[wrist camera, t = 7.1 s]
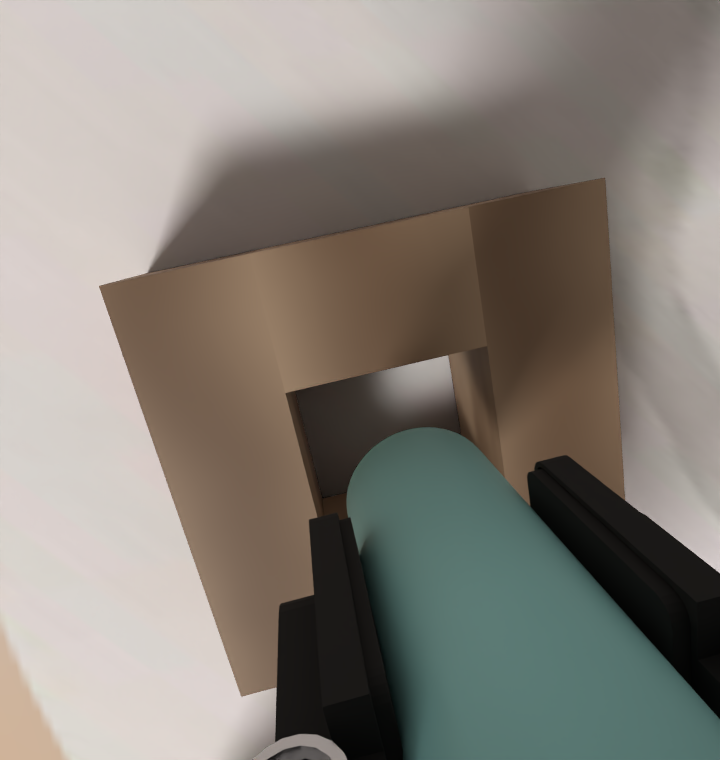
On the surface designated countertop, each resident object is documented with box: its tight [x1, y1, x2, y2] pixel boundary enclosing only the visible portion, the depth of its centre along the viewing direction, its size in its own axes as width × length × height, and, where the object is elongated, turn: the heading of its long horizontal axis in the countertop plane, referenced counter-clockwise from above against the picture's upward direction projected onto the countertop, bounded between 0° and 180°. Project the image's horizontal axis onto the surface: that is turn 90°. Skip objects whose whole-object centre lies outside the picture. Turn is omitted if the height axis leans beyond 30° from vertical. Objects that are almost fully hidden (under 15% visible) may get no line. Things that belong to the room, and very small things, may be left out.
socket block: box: [99, 178, 625, 697], centre depth 16 cm, size 12×12×4 cm
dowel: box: [346, 427, 720, 760], centre depth 7 cm, size 3×3×11 cm
